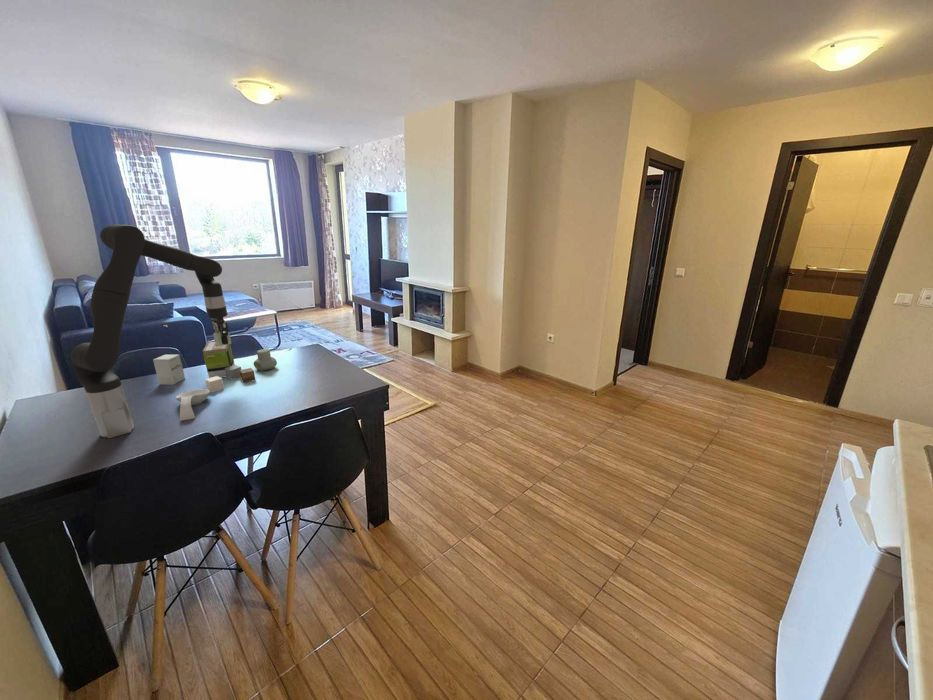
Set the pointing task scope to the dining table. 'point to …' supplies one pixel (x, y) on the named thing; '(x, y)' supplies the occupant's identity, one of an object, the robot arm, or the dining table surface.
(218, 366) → the tea box
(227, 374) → the slate cube
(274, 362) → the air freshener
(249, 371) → the walnut cube
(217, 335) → the sage cube
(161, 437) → the dining table surface
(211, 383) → the cream cube
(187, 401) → the spoon rest
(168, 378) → the supplement box
